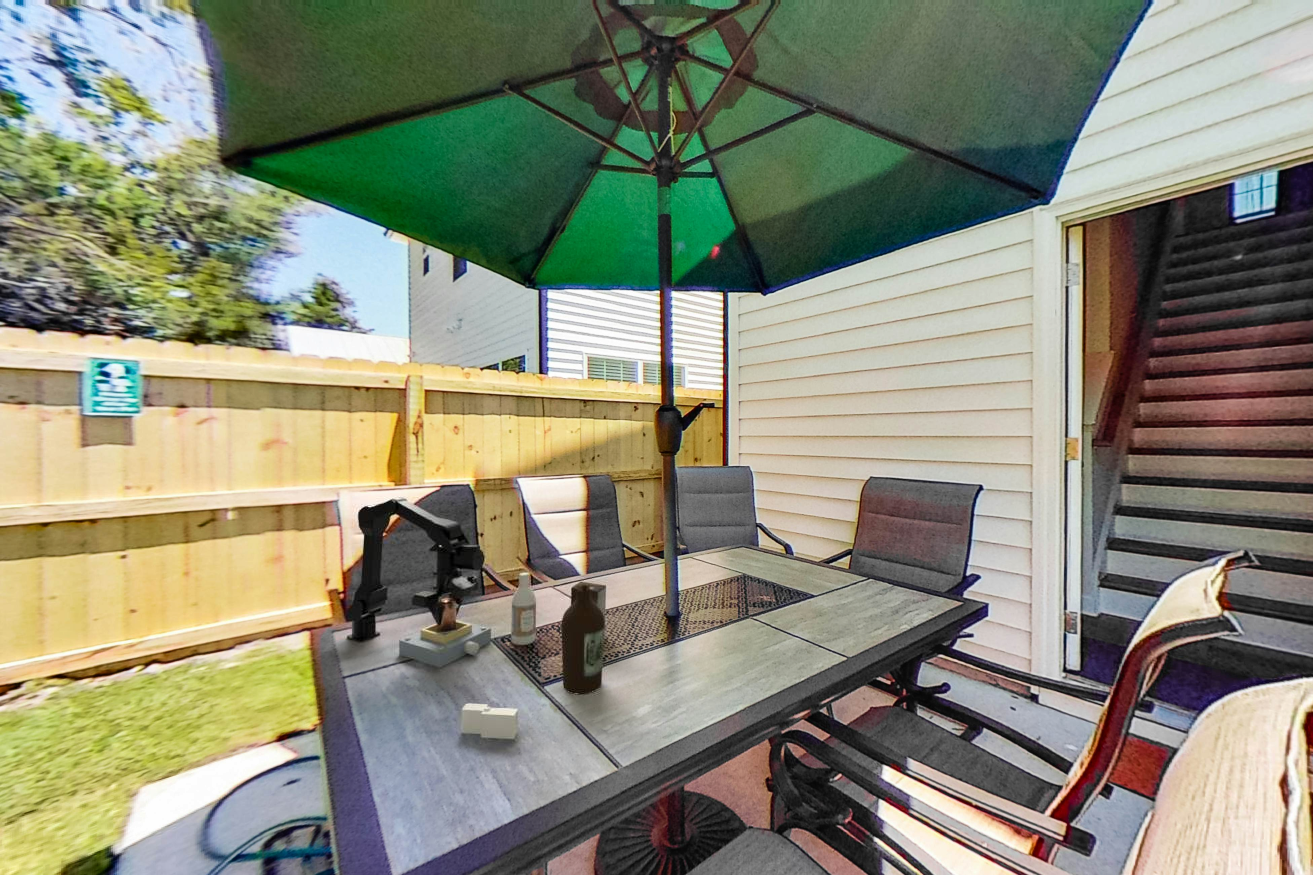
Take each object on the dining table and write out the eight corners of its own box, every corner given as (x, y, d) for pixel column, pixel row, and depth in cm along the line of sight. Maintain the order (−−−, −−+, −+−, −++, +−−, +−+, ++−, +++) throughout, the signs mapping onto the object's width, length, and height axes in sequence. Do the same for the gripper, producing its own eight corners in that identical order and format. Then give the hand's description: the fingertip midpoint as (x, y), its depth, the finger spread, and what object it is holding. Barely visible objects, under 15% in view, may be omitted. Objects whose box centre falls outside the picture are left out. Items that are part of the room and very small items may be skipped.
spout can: (433, 630, 140) (433, 601, 140) (447, 623, 145) (447, 596, 145) (450, 634, 137) (450, 606, 137) (464, 628, 142) (464, 600, 142)
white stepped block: (533, 735, 103) (533, 708, 102) (482, 762, 94) (482, 732, 94) (494, 707, 113) (495, 682, 112) (445, 730, 104) (445, 703, 104)
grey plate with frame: (399, 654, 137) (399, 632, 137) (452, 631, 153) (452, 611, 153) (448, 670, 129) (448, 647, 129) (498, 643, 145) (498, 623, 145)
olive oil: (551, 686, 121) (552, 585, 121) (581, 670, 130) (583, 575, 129) (583, 701, 115) (584, 593, 115) (612, 682, 124) (614, 582, 123)
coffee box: (568, 640, 148) (569, 587, 147) (579, 632, 154) (579, 581, 153) (596, 645, 145) (597, 590, 144) (606, 637, 151) (606, 584, 150)
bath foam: (515, 647, 142) (516, 578, 142) (508, 639, 148) (509, 572, 148) (538, 642, 146) (539, 574, 146) (530, 634, 152) (531, 569, 152)
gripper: (439, 579, 129) (439, 639, 130) (492, 563, 146) (491, 615, 146) (410, 573, 134) (410, 631, 135) (465, 558, 151) (464, 609, 151)
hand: (446, 621), depth 142 cm, fingers closed on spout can, 5 cm apart
